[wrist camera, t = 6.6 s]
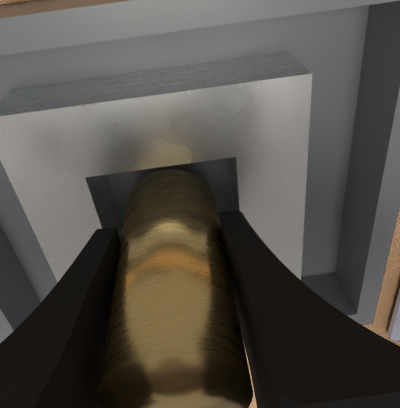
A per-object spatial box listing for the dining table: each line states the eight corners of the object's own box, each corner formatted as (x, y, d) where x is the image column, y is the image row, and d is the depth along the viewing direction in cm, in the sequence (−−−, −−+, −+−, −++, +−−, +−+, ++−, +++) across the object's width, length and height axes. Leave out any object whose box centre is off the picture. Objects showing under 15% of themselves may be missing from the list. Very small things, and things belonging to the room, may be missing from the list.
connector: (211, 163, 13) (249, 344, 7) (220, 236, 15) (255, 428, 9) (116, 177, 13) (76, 368, 7) (137, 248, 15) (119, 447, 9)
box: (386, -49, 12) (457, -45, 9) (342, 267, 20) (372, 323, 17) (-113, 20, 12) (-201, 46, 9) (40, 308, 20) (19, 371, 17)
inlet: (288, 51, 12) (312, 73, 10) (284, 256, 17) (299, 298, 15) (11, 89, 12) (-20, 118, 10) (89, 282, 18) (78, 328, 15)
